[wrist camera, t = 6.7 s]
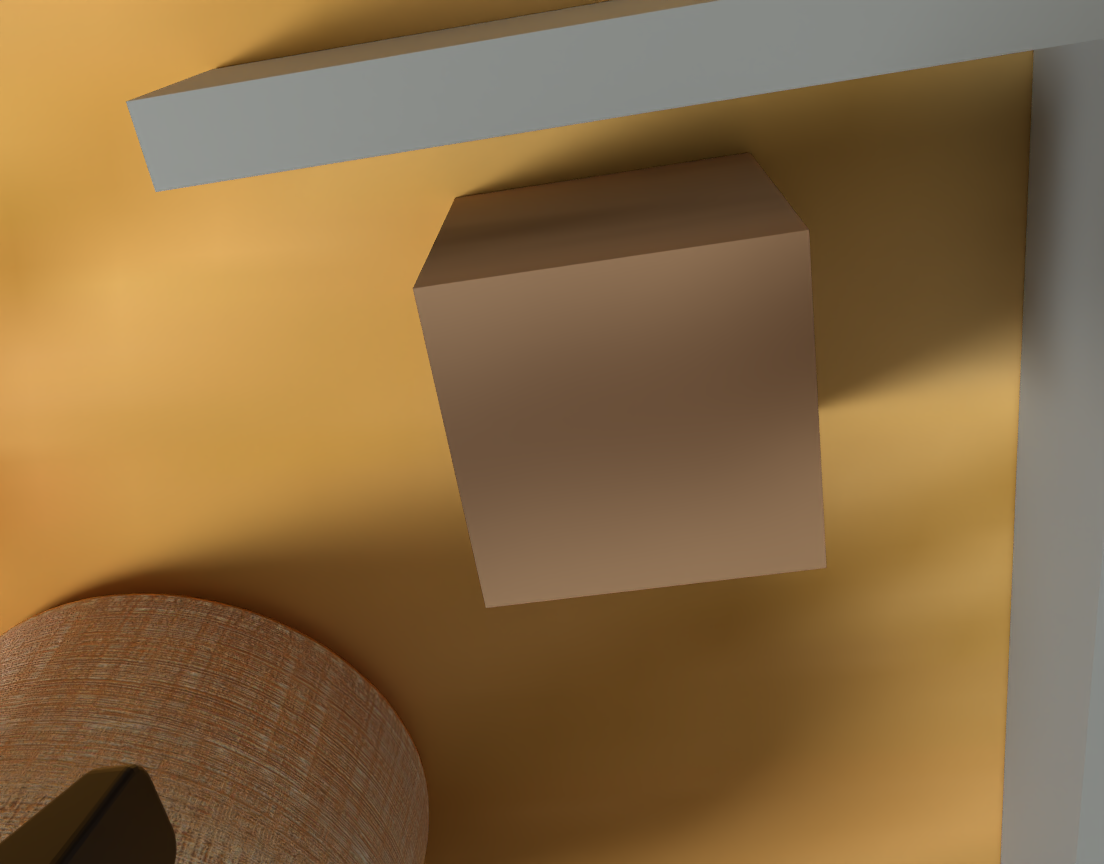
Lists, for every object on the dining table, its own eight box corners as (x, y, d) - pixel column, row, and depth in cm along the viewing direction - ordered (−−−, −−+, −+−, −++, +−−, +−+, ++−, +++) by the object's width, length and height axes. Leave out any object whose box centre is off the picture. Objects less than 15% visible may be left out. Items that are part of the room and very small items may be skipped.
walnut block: (768, 419, 19) (826, 568, 15) (507, 453, 20) (486, 607, 15) (749, 151, 17) (808, 230, 13) (455, 196, 18) (413, 289, 13)
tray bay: (1048, 931, 25) (1115, 1076, 22) (476, 979, 26) (461, 1121, 23) (1121, -88, 15) (1262, -93, 12) (212, 69, 17) (126, 102, 13)
